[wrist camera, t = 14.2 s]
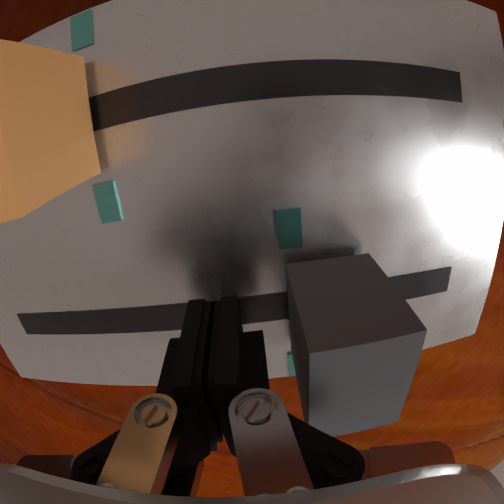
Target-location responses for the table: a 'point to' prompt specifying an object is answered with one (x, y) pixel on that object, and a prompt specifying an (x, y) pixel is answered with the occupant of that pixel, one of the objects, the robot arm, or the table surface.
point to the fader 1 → (42, 127)
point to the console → (259, 174)
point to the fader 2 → (350, 343)
